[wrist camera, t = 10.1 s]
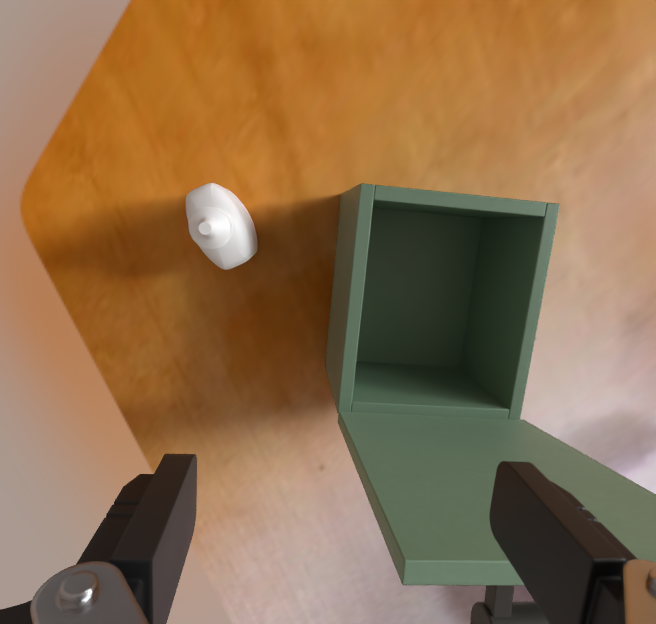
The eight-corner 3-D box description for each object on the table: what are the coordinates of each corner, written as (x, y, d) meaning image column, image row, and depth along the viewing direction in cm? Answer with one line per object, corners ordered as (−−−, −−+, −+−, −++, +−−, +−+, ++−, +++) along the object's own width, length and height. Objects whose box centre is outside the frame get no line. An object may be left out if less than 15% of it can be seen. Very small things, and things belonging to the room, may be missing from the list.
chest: (340, 193, 36) (360, 183, 26) (489, 208, 37) (560, 203, 28) (324, 366, 39) (337, 413, 29) (463, 374, 40) (519, 422, 31)
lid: (404, 560, 13) (389, 723, 14) (780, 564, 15) (759, 711, 15) (338, 410, 29) (332, 488, 29) (523, 419, 30) (516, 493, 30)
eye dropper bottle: (203, 258, 36) (162, 276, 24) (205, 187, 35) (164, 170, 23) (257, 262, 36) (242, 282, 25) (261, 193, 35) (248, 179, 24)
